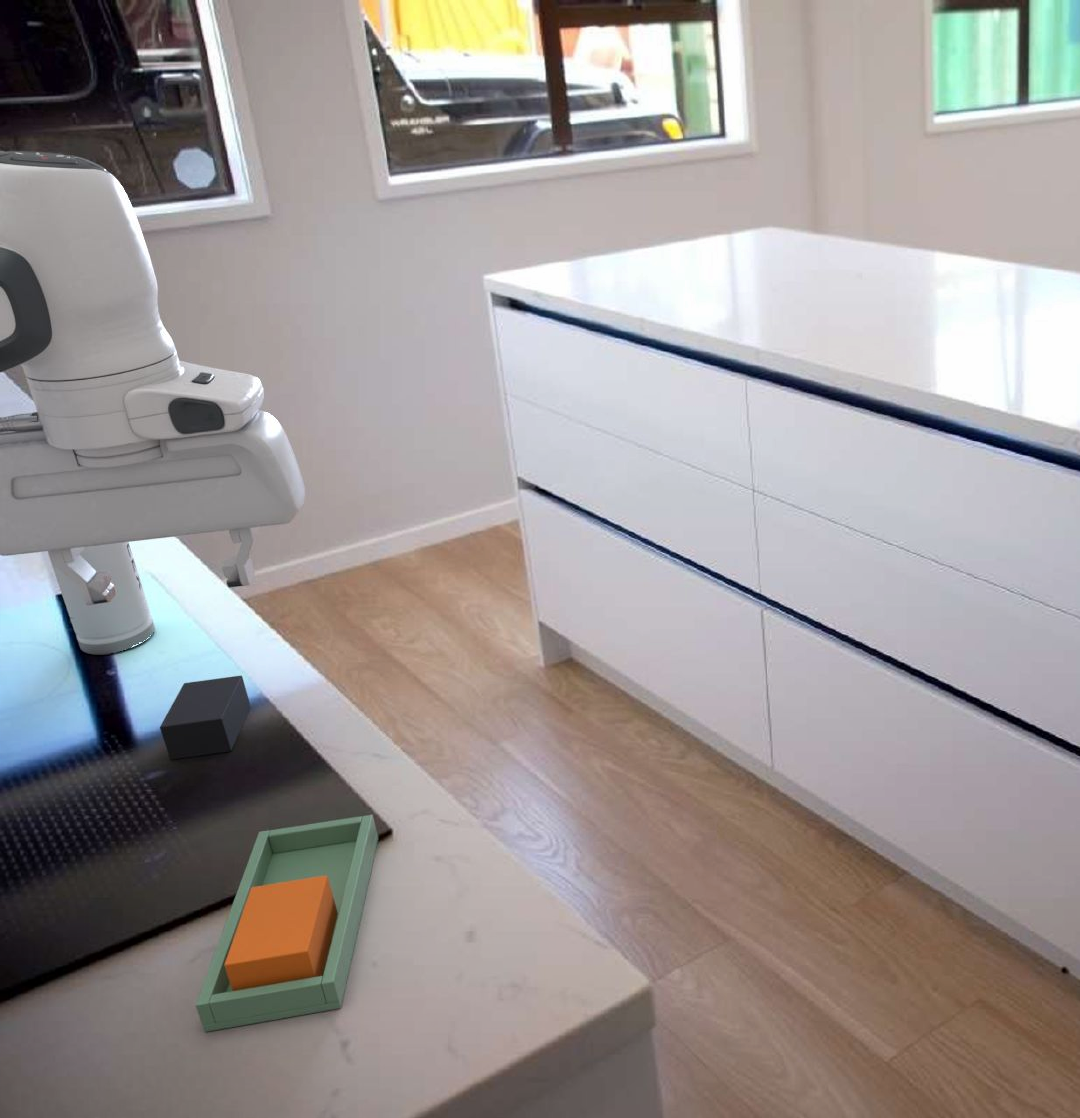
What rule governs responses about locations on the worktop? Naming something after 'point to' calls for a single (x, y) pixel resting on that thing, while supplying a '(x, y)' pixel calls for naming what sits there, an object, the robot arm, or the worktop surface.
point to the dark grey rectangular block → (205, 717)
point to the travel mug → (109, 603)
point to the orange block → (282, 934)
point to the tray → (348, 866)
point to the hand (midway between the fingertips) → (172, 592)
